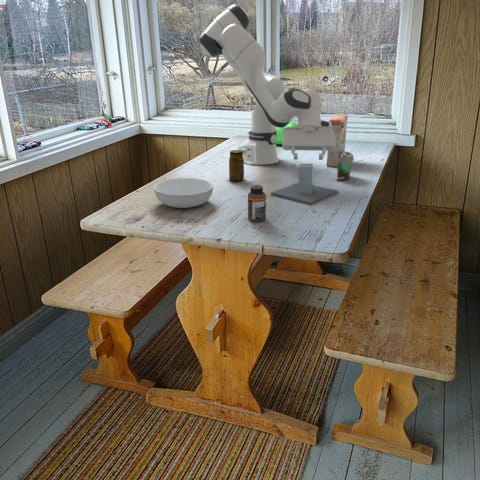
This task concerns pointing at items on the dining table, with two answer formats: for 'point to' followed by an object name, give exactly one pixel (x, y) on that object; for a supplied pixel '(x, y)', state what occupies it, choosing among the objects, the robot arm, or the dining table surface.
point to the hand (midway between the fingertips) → (308, 158)
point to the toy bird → (279, 130)
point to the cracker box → (337, 139)
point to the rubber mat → (304, 194)
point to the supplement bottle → (256, 204)
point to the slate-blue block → (305, 178)
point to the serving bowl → (183, 192)
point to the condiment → (236, 167)
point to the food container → (344, 165)
